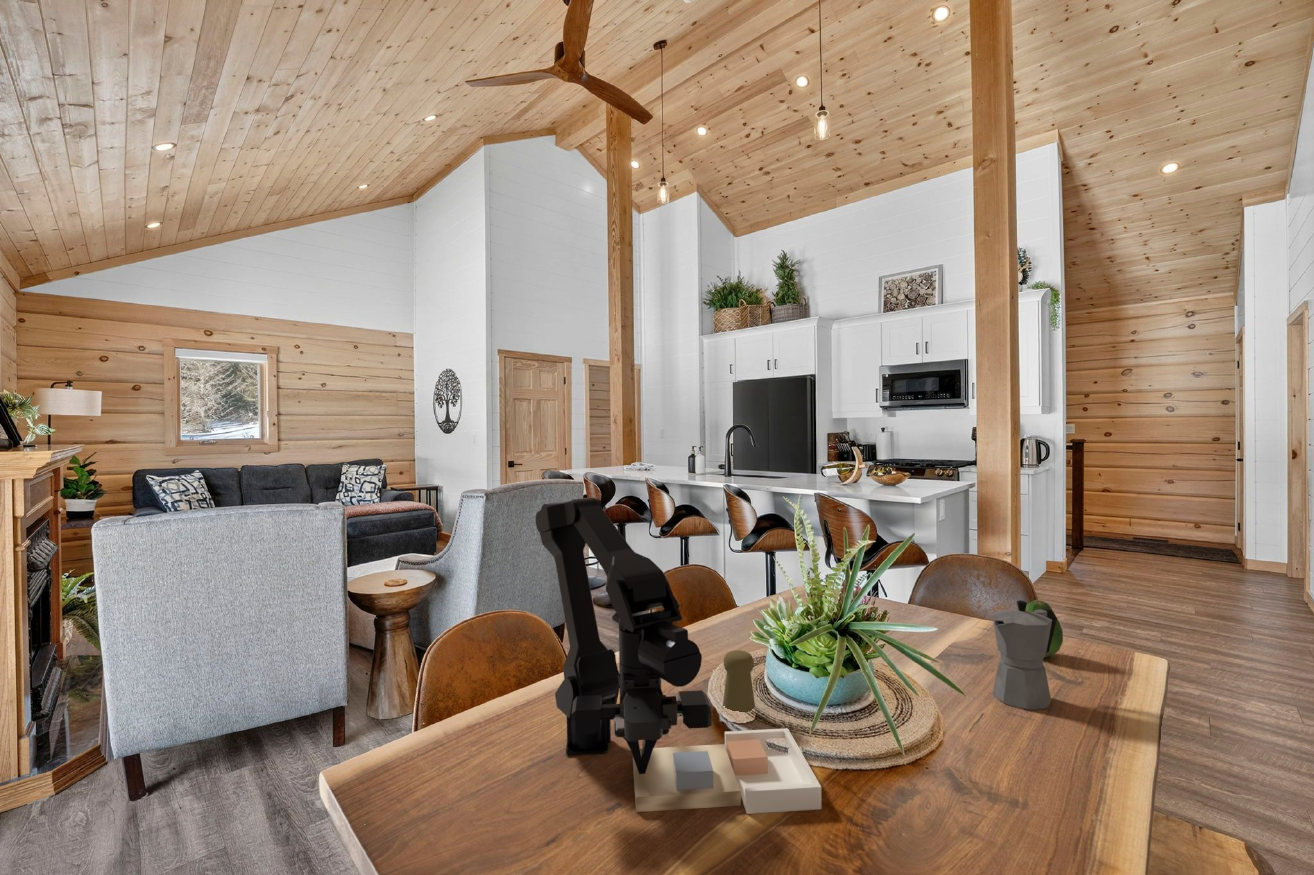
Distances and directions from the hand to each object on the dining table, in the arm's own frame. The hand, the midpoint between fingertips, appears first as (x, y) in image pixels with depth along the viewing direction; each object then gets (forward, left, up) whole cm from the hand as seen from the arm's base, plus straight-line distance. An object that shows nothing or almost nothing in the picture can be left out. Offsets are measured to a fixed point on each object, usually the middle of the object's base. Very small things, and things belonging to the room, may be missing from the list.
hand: (641, 772), depth 86 cm
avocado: (+87, +40, -4) cm, 96 cm away
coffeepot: (+71, +22, -4) cm, 75 cm away
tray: (+18, +2, -3) cm, 18 cm away
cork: (+18, +21, -4) cm, 28 cm away
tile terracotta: (+16, +5, -3) cm, 17 cm away
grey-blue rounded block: (+7, 0, -1) cm, 7 cm away
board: (+6, +2, -3) cm, 7 cm away
